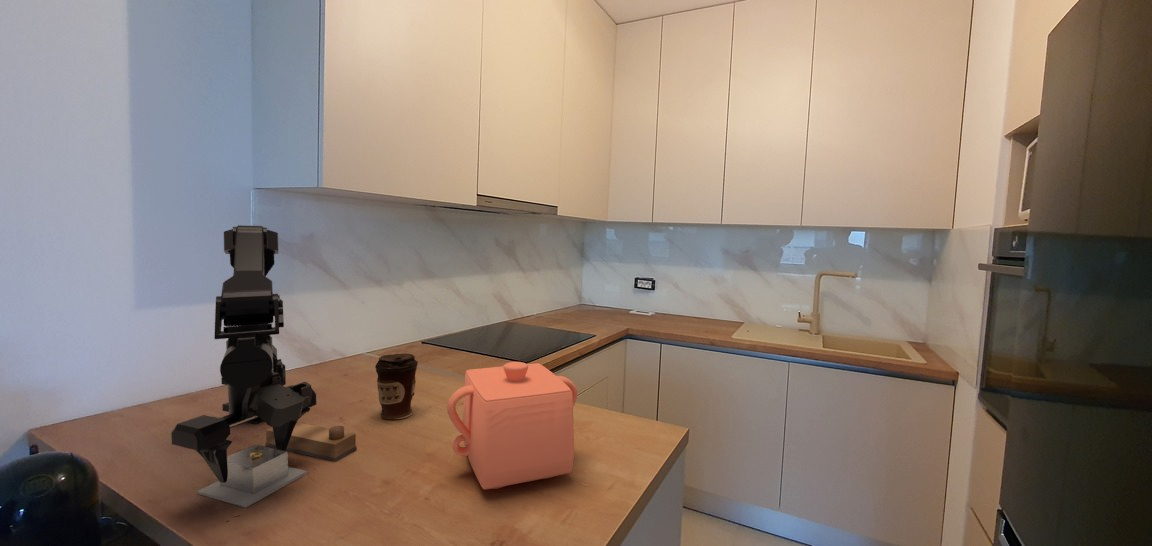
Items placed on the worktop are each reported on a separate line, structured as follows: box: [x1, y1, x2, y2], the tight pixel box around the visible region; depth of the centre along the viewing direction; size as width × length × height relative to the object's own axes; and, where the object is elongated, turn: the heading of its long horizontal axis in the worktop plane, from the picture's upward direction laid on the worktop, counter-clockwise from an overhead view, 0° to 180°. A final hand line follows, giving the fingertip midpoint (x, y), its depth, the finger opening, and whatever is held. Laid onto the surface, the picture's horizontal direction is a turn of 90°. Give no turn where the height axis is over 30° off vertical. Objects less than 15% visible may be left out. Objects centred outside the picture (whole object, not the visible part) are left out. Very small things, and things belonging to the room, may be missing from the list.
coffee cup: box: [374, 353, 419, 420], centre depth 99 cm, size 9×8×13 cm
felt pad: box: [196, 466, 308, 508], centre depth 71 cm, size 10×10×1 cm
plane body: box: [265, 421, 358, 462], centre depth 83 cm, size 16×5×5 cm, turn 72°
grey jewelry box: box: [220, 444, 289, 494], centre depth 71 cm, size 7×6×5 cm
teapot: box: [446, 361, 578, 491], centre depth 81 cm, size 25×23×18 cm
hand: (254, 467), depth 71 cm, fingers open, 9 cm apart
